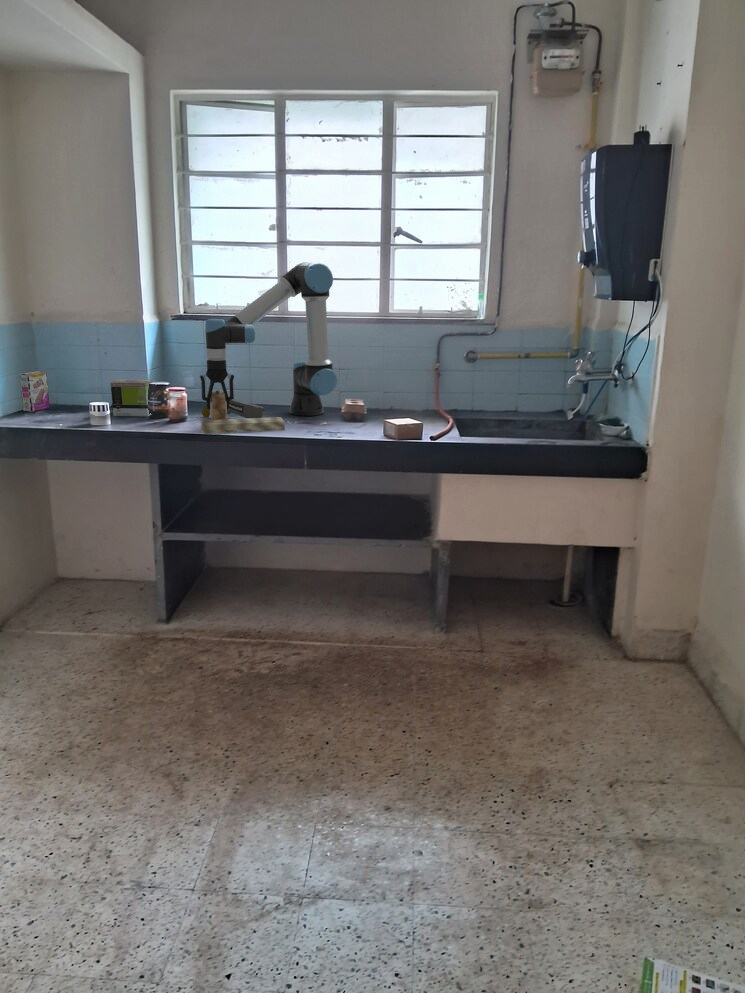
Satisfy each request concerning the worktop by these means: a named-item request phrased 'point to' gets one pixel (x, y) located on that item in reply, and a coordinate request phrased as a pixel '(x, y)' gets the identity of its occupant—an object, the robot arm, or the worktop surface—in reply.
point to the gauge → (218, 405)
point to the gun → (240, 409)
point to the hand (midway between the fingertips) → (218, 417)
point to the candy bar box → (34, 391)
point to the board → (242, 425)
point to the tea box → (130, 397)
